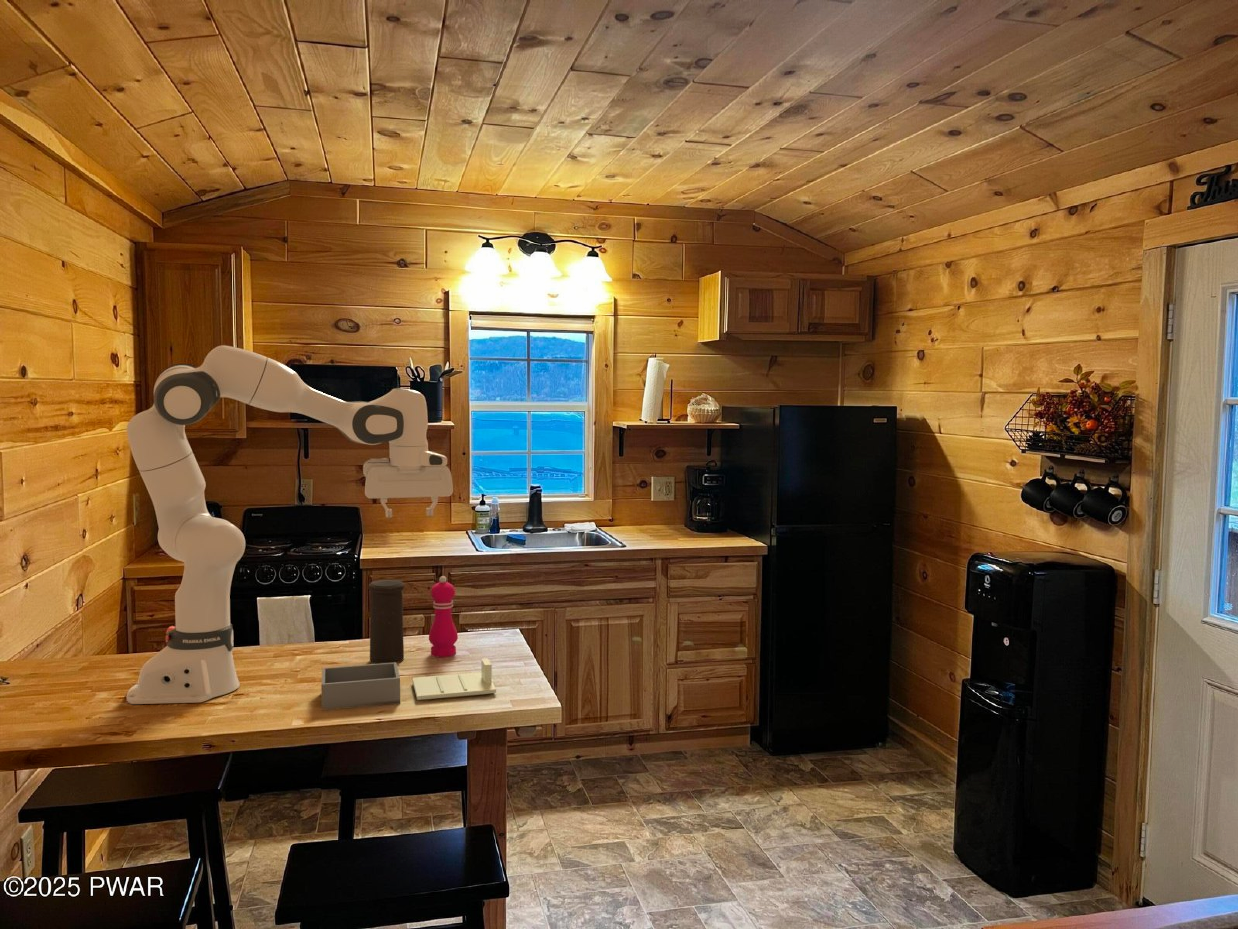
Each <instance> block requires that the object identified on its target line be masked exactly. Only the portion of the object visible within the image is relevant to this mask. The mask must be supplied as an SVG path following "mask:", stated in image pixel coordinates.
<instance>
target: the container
mask: <svg viewBox="0 0 1238 929" xmlns="http://www.w3.org/2000/svg"><path fill="white" fill-rule="evenodd" d="M367 588H368V590H369V592H370V594H369V596H370V597H369V598H370V599H369V600H370V603H369V604H370V606H369V611H370V613H369V614H370V615H369V618H370V619H369V628H370V630H369V662H370V664H381V663H394V662H396V663H397V664H398V663H400V662H402V661H403V660H404V659H405V658H404V657H405V651H404V650H405V648H404V646H405V645H404V644H405V643H404V609H403V608H404V606H403V605H404V602H403V599H404V594H403V590H404V589H405V583H404V582H403V581H401V580H399V579H379V580H378V579H377V580H373V581H371V582H369V584H368V586H367Z"/></svg>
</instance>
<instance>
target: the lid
mask: <svg viewBox="0 0 1238 929" xmlns="http://www.w3.org/2000/svg"><path fill="white" fill-rule="evenodd" d="M492 665H493V664H492V663H491V661H490V659H489V657H488V658H481V665H480V666H481V671H479V672H469V673H468V672H467V673H455V674H454V673H453V674H444V675H443V674H442V675H432V676H429V675H428V676H418V677H412V678H411V679H412V681H411V682H412V684H413V685H412V686H413V689H414V692H415V696H416V700H417V701H418V700H419V701H421V700H432V699H433V700H435V699H443V698H444V699H445V698H456V697H469V696H479V695H486V694H487V695H489V694H496V693H497V688H496V687H495V684H494V683H493V681H492V680H493V679H492V676H493V675H492V671H493V670H492V668H493V667H492Z"/></svg>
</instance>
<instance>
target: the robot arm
mask: <svg viewBox="0 0 1238 929" xmlns="http://www.w3.org/2000/svg"><path fill="white" fill-rule="evenodd" d="M221 398H228V399H232V400H235V401H239V402H241V403H244V404H246V405H249V406H252V407H254V408H258V409H261V410H266V411H270V412H275V413H294V414H295V413H297V414H301V415H304V416H307V417H310V418H312V419H315V420H318V421H320V422H322V423H325V424H328V425H330V426H332V427H334V428H336V429H337V430H338V431H339V432H340V433H341V434H342V435H343V436H344V437H345V438H346V439H347V440H349V441H351V442H353V443H356V444H362V445H363V444H364V445H367V446H368V445H369V446H373V445H374V446H376V445H380V444H382V443H386V442H388V443H389V445H388V446H389V457H383V458H382V457H381V458H373V457H372V458H369V460H366V461H365V462H364V463H363V466H362V472H363V473H362V474H363V476H364V477H365V486H364V495H365V496H366V498H368V499H380V504H381V505H382V508H383V509H384V510H385V518H393V509H392V508H388V506H387V505H386V503H388V499H402V498H430V501H431V502H432V503H431V505H430V506H429V507H426V510H425V511H426V517H431V516H432V517H433V516H434V509H435V507H436V506H437V504H438V502H439V497H440V498H441V497H442V498H443V497H444V498H445V497H450V496H452V494H453V493H454V485H453V484H454V483H453V477H452V476H453V475H452V473H451V470H450V468H449V467H448V466H447V465H448V457H447V456H446V455H443V454H440V453H437V452H435V451H429V442H428V439H427V432H428V426H429V421H428V419H429V418H428V406H427V401H426V397H425V396H424V394H422V393H421V392H419V391H417V390H414V389H408V388H401V387H395V388H393V389H391V390H390V391H389V392H388V393H386V394H384V395H383V396H381V397H378V398H376V399H374V400H371V401H363V400H362V401H361V400H359V401H357V400H356V401H345V400H342V399H340V398H337V397H334V396H331V395H329V394H326V393H323V392H322V391H319V390H316V389H314V388H312V387H311V386H309V385H308V384H307V383H305V382H304V381H303V379H301V376H299V374H298V373H297V372H296V371H294V370H293V369H292V368H290V367H288V366H287V365H286V364H284V363H282V362H279V361H277V360H275V359H272V358H270V357H267V356H265V355H264V354H260V353H257V352H254V351H251V350H247V349H243V348H240V347H235V346H231V345H225V344H224V345H218V346H216V347H214V348H213V349H211V351H209V352H208V353H207V355H206V357H205V358H204V360H203V363H202V364H201V365H200V366H198V367H196V366H194V365H191V364H188V363H175V364H172V365H170V366H167V367H166V368H164V369H163V370H162V371H161V372H160V373H159V375H158V377H157V379H156V381H155V382H154V386H153V398H152V407H151V406H150V408H148V409H146V410H144V411H141V412H139V413H137V414H135V415H134V416H132V418H130V420H129V421H128V423H127V426H126V434H127V439H128V443H129V448H130V450H131V455H132V457H133V460H134V462H135V465H136V467H137V469H138V471H139V474H140V477H141V478H142V480H143V483H144V485H145V487H146V490H147V491H148V494H149V497H150V499H151V502H152V505H153V507H154V511H155V516H156V520H157V521H156V522H157V526H158V531H157V541H158V545H159V547H160V548H161V549H162V550H163V551H164V552H165V553H166V555H168V556H169V557H171V558H172V559H174V560H176V561H179V562H183V564H184V568H183V575H182V580H181V583H180V585H179V587H178V589H177V590H176V591H175V595H174V610H175V611H174V614H175V616H174V617H175V620H174V621H175V626H174V625H171V626H169V627H168V628H166V629H167V630H166V631H165V645H166V646H165V647H163V649H161V650H160V651H159V652H157V653H156V654H155V655H154V656H152V657H151V658H150V659H148V660H147V661H146V663H144V664H143V665H142V667H141V669H140V671H139V675H138V680H137V683H136V684H134V685H132V687H131V686H130V688H129V690H128V691H127V692H126V693H127V694H126V702H127V703H128V704H130V705H143V704H145V705H146V704H147V705H148V704H150V705H153V704H187V703H190V704H191V703H192V704H193V703H204V702H206V701H209V700H211V699H214V698H217V697H221V696H223V695H226V694H229V693H231V692H233V691H236V690H237V689H238V688H239V687H240V685H241V684H240V680H239V678H238V675H237V671H236V666H235V661H234V657H233V648H234V629H233V624H232V623H231V598H230V596H231V587H232V581H233V575H234V572H235V568H236V565H237V564H238V562H239V561H240V560H241V558H242V557H243V555H244V553H245V551H246V550H245V549H246V539H245V536H244V533H243V532H242V531H241V529H239V527H238V526H236V525H235V524H233V523H231V522H230V521H229V520H226V519H223V518H219V517H214V516H212V514H210V512H209V510H208V508H207V504H206V499H205V489H206V487H207V486H206V484H207V483H206V481H205V480H206V479H205V477H204V475H203V473H202V470H201V468H200V466H199V464H198V461H197V459H196V457H195V453H193V450H192V448H191V445H190V443H189V440H188V438H187V435H186V431H185V428H186V426H189V425H193V424H195V423H198V422H199V421H201V420H202V419H203V418H204V417H206V415H208V413H209V412H211V410H212V409H213V407H214V406H215V405H216V404H217V403H218V401H220V399H221Z"/></svg>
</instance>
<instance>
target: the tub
mask: <svg viewBox="0 0 1238 929" xmlns="http://www.w3.org/2000/svg"><path fill="white" fill-rule="evenodd" d="M320 687H321V690H320V691H321V692H320V693H321V711H330V710H331V709H332V710H340V709H339V708H343V709H353V708H364V707H374V706H385V705H387V706H388V705H397V704H401V677H400V673H399V668H398V663H396V662H394V663H381V664H373V663H369V664H357V665H344V666H331V667H322V668H321V684H320ZM337 708H338V709H337Z"/></svg>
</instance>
